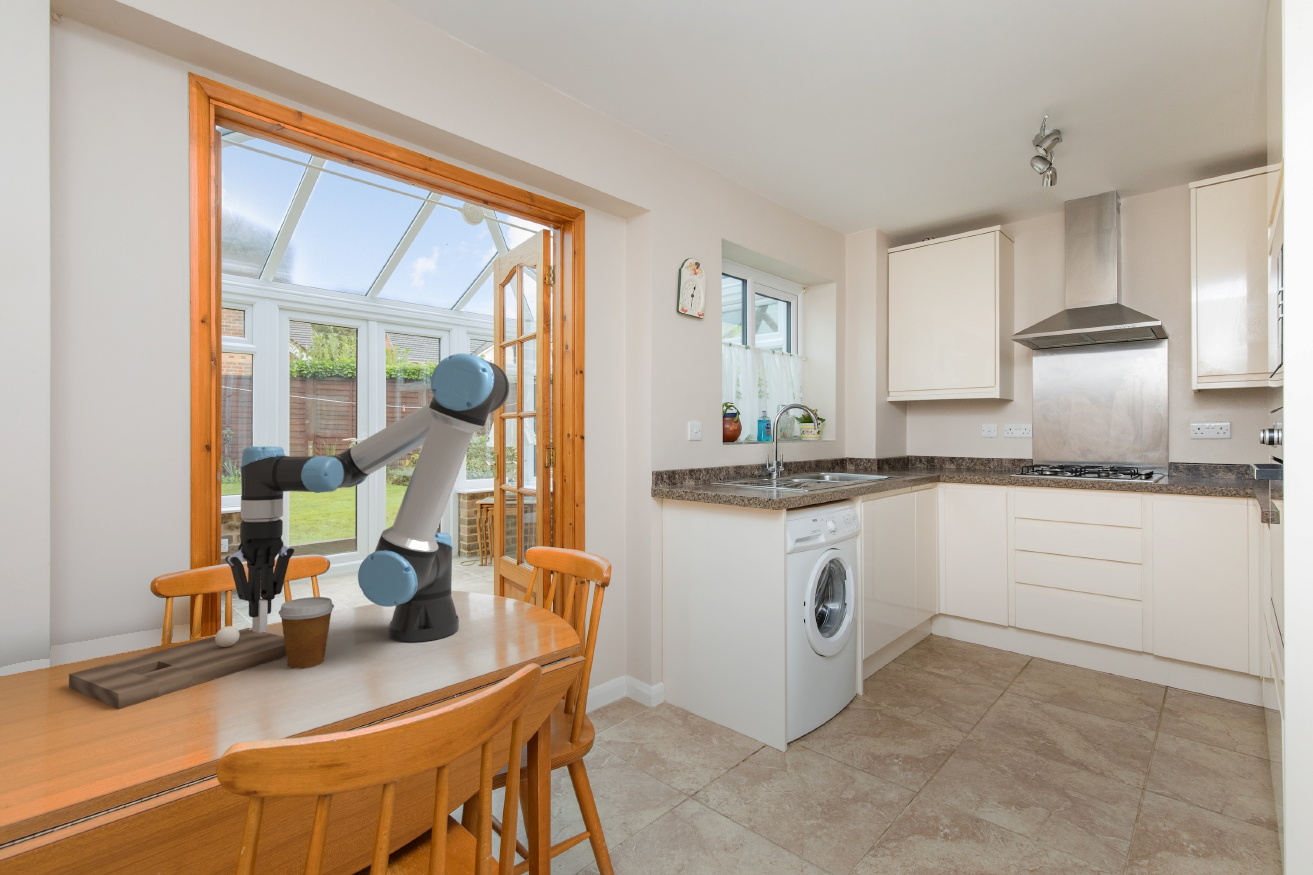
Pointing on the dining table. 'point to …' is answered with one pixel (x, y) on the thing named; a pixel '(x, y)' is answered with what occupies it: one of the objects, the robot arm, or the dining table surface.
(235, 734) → the dining table surface
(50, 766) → the dining table surface
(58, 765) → the dining table surface
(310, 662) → the disposable coffee cup
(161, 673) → the hole board
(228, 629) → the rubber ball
